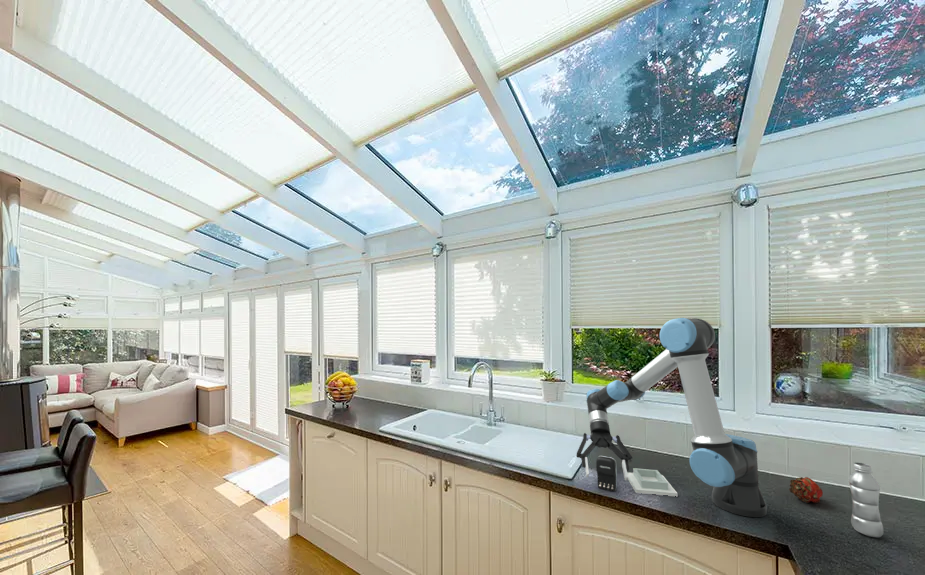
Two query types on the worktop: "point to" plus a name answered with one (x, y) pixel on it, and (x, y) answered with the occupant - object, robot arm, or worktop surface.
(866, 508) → the plastic bottle
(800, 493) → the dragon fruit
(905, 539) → the worktop surface
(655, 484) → the tray
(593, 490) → the worktop surface
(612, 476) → the black battery charger
